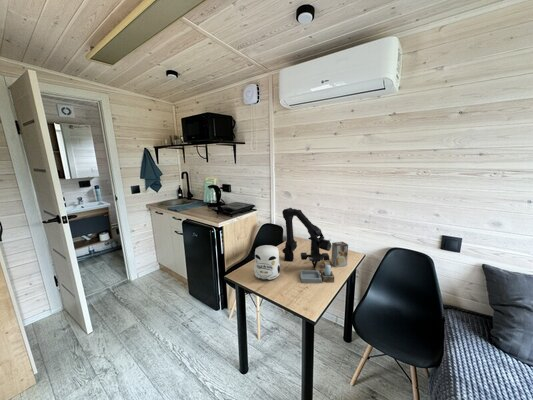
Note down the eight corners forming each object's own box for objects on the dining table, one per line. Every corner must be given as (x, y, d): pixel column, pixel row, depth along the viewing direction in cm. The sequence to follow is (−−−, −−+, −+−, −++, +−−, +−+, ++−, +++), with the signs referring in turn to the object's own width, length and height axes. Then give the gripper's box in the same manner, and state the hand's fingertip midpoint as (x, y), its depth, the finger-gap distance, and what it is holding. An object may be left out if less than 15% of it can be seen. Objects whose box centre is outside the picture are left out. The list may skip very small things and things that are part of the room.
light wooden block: (324, 271, 147) (325, 264, 146) (323, 268, 151) (324, 261, 150) (329, 271, 147) (329, 264, 146) (328, 268, 151) (328, 261, 150)
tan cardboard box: (316, 273, 145) (316, 270, 145) (314, 266, 154) (314, 263, 153) (325, 274, 144) (325, 270, 144) (323, 267, 153) (323, 264, 153)
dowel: (324, 280, 136) (325, 267, 135) (323, 277, 140) (324, 264, 138) (330, 280, 136) (331, 267, 134) (329, 277, 140) (330, 264, 138)
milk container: (259, 285, 132) (258, 258, 128) (250, 271, 147) (249, 246, 144) (284, 279, 138) (285, 253, 134) (273, 266, 154) (273, 242, 150)
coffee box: (341, 261, 161) (343, 241, 157) (347, 265, 155) (348, 244, 151) (330, 263, 158) (332, 242, 155) (335, 267, 152) (337, 246, 149)
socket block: (322, 281, 135) (322, 276, 134) (320, 275, 142) (320, 270, 141) (334, 282, 134) (334, 277, 134) (331, 276, 141) (331, 271, 141)
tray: (301, 282, 134) (301, 278, 134) (299, 273, 145) (300, 270, 144) (321, 283, 134) (321, 279, 133) (318, 274, 144) (318, 270, 143)
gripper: (302, 251, 139) (301, 273, 142) (332, 252, 138) (330, 274, 141) (300, 244, 150) (300, 265, 153) (328, 245, 149) (327, 265, 152)
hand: (314, 267), depth 149 cm, fingers closed
